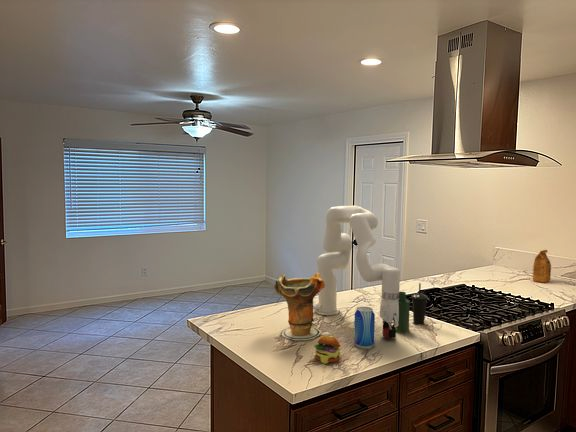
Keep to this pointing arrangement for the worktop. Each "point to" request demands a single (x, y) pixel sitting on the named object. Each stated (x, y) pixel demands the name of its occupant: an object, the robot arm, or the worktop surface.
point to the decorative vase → (300, 305)
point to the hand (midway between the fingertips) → (389, 334)
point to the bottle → (403, 313)
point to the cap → (386, 333)
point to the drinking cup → (419, 307)
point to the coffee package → (542, 267)
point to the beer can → (364, 327)
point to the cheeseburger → (327, 349)
